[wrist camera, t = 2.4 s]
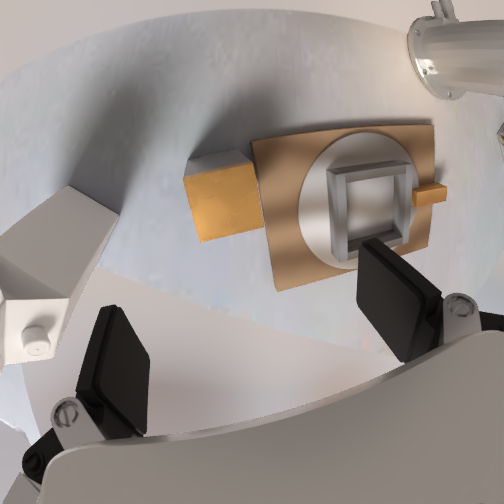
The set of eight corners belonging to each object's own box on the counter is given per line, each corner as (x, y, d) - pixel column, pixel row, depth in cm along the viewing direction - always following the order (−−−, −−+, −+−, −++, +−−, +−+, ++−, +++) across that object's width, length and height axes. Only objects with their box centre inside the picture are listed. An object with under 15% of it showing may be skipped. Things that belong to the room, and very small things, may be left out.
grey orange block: (187, 159, 27) (182, 179, 19) (236, 148, 27) (253, 163, 19) (198, 205, 29) (200, 242, 21) (245, 194, 29) (264, 227, 22)
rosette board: (250, 141, 27) (258, 145, 23) (431, 124, 29) (453, 129, 25) (274, 286, 36) (283, 307, 32) (426, 242, 37) (443, 254, 34)
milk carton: (49, 236, 27) (-37, 349, 10) (68, 183, 25) (-45, 278, 8) (97, 264, 30) (39, 398, 13) (120, 214, 28) (48, 343, 11)
